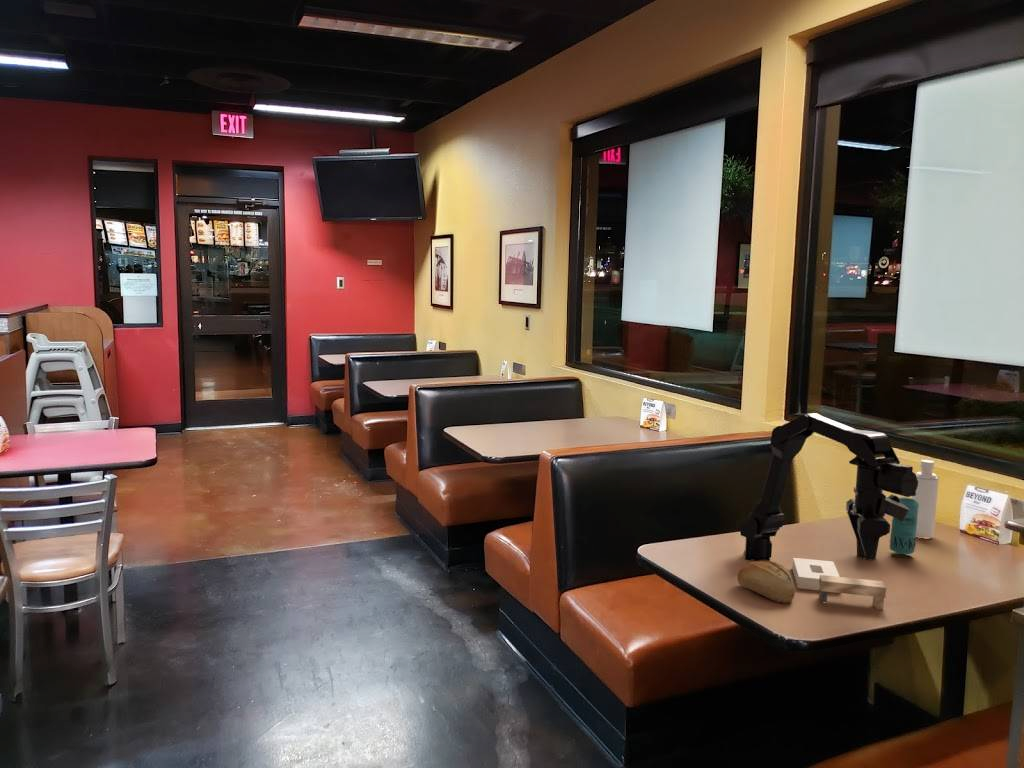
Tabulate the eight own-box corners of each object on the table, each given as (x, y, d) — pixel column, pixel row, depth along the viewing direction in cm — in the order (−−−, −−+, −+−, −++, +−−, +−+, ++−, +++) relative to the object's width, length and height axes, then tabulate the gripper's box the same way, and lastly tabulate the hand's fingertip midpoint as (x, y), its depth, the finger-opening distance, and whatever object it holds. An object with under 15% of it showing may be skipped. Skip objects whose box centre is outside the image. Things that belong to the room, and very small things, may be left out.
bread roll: (750, 580, 195) (752, 550, 194) (804, 599, 183) (806, 567, 182) (727, 588, 189) (729, 558, 188) (781, 609, 177) (783, 576, 176)
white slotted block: (798, 588, 190) (798, 576, 189) (792, 568, 203) (793, 557, 203) (841, 592, 187) (841, 581, 187) (832, 572, 201) (833, 561, 200)
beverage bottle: (883, 551, 218) (889, 483, 215) (906, 551, 218) (911, 483, 216) (897, 559, 211) (903, 489, 209) (919, 559, 212) (926, 489, 209)
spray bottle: (922, 540, 228) (929, 459, 225) (903, 533, 234) (910, 454, 231) (938, 538, 231) (945, 457, 227) (919, 531, 237) (926, 452, 234)
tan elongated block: (820, 603, 181) (822, 580, 180) (818, 596, 185) (819, 574, 184) (884, 610, 178) (886, 587, 177) (880, 603, 181) (882, 581, 181)
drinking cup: (879, 553, 216) (885, 485, 213) (883, 562, 209) (888, 492, 206) (850, 550, 218) (855, 482, 216) (852, 559, 211) (858, 489, 208)
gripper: (917, 499, 166) (912, 568, 168) (897, 479, 184) (892, 541, 186) (862, 495, 169) (858, 562, 171) (847, 476, 187) (843, 537, 189)
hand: (864, 550), depth 179 cm, fingers open, 9 cm apart
